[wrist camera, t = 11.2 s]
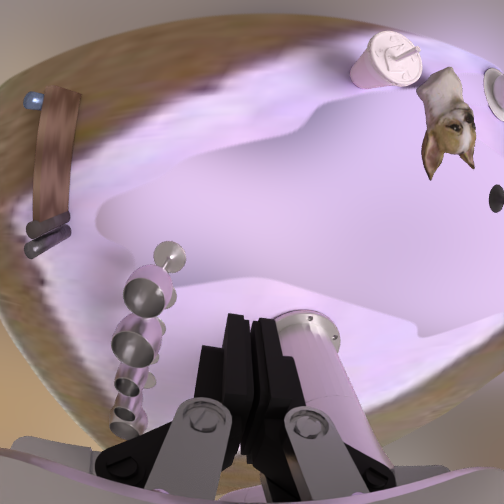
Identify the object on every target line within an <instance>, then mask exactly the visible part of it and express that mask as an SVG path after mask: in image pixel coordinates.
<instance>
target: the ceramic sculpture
mask: <svg viewBox="0 0 504 504" xmlns="http://www.w3.org/2000/svg"><path fill="white" fill-rule="evenodd" d="M416 92H417V94H418V96H419V97H420V99H421V100H422V101H423V103H424V107H425V114H426V124H427V130H426V133H425V137H424V139H423V143H422V150H421V155H422V160H423V165H424V168H425V170H426V173H427V175H428V177H429V180H432V177H433V175H434V173H435V171H436V170H437V168H438V167H439V166H440V164H441V163H442V160H443V156H444V153H450V154H459V156H460V157H461V158H462V159H463V160H464V161H465V162H466V163H467V164H468V165H469V166H470V167H471V168H472V169H474V168H475V167H474V161H473V154H474V146H475V140H476V132H475V130H476V127H475V123H474V115H473V111H472V109H471V108H470V107H469V106H468V104H466V103H465V102H464V100H463V97H462V84H461V82H460V79H459V77H458V76H457V75H456V74H455V72H454V70H453V68H452V67H447V68H445V69H443V70H440V71H438V72H436V73H433V74H432V75H430V77H429V78H428V80H427V81H426V82H425V83H424V84H422V85H421V86H420V87H418V88H417V89H416Z"/></svg>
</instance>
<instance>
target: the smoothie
mask: <svg viewBox="0 0 504 504" xmlns="http://www.w3.org/2000/svg"><path fill="white" fill-rule="evenodd" d="M420 51H421V49H420V47H418V46H416V47H415V46H414V45H413V44H412V42H411V41H409V40H408V39H407V38H406V37H404V36H403V35H401V34H399V33H396V32H393V31H383V32H380V33H378V34H376V35H374V36H373V37H372V38H371V39H370V41H369V43H368V46H367V49H366V50H365V51H364V52H363V54H362V55H361V56H360V58H359V59H358V60H357V61H356V63H355V64H354V65H353V66H352V68H351V70H350V78H351V80H352V82H353V83H354V84H355V85H356V86H357V87H359V88H361V89H371V88H377V87H384V86H391V85H394V86H400V87H403V86H408V85H410V84H412V83H414V82H416V81H417V80H418V79H419V78H420V76H421V73H422V60H421V57H420V54H419V52H420Z"/></svg>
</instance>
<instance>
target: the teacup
mask: <svg viewBox="0 0 504 504" xmlns="http://www.w3.org/2000/svg"><path fill="white" fill-rule="evenodd" d="M484 91H485V95H486V99H487V101H488V104H489V106H490V108H491V110H492V111H493V113H494V114H495V116H496V117H497V118H498V119H500V120H501V121H503V122H504V74H502V73H501V72H500V71H499V70H497V69H494V68H490V69H488V70H487V71H486V72H485V75H484Z"/></svg>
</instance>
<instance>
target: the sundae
mask: <svg viewBox="0 0 504 504" xmlns="http://www.w3.org/2000/svg"><path fill="white" fill-rule="evenodd" d="M489 205H490V208H491V210H492V211H493V212H495V213H497V212H499V211H500V210H501V209H502V207H503V205H504V190H503V188H502V187H501V186H500V185H495V186H493V188H492V189H491V191H490V194H489Z"/></svg>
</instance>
